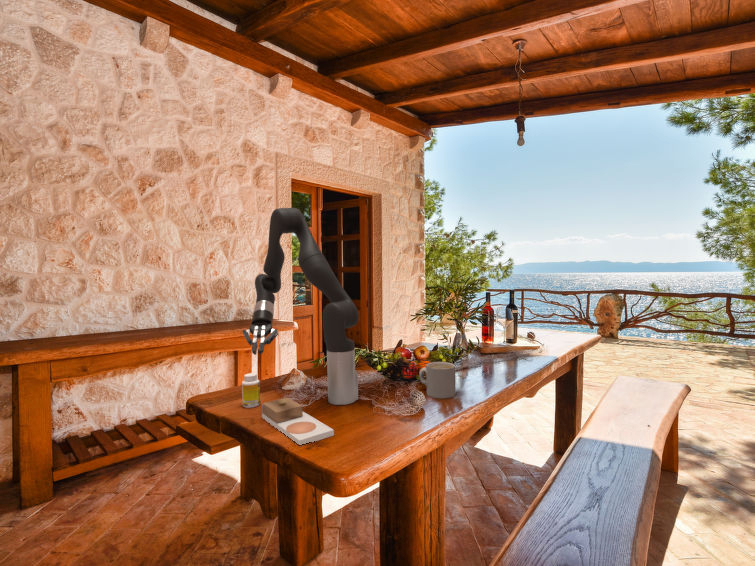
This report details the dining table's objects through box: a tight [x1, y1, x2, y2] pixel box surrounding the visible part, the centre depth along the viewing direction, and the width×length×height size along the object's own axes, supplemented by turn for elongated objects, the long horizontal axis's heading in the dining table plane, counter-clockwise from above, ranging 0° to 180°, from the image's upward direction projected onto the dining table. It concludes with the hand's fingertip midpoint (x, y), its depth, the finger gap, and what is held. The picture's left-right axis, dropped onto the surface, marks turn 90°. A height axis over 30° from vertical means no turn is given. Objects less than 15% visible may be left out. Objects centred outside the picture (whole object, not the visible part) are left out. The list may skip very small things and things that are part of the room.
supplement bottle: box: [241, 372, 261, 409], centre depth 129 cm, size 6×6×10 cm
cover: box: [262, 397, 304, 423], centre depth 116 cm, size 8×10×4 cm
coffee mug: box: [418, 361, 457, 399], centre depth 138 cm, size 13×10×10 cm
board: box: [261, 404, 335, 446], centre depth 111 cm, size 10×25×4 cm, turn 38°
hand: (257, 353), depth 140 cm, fingers closed
